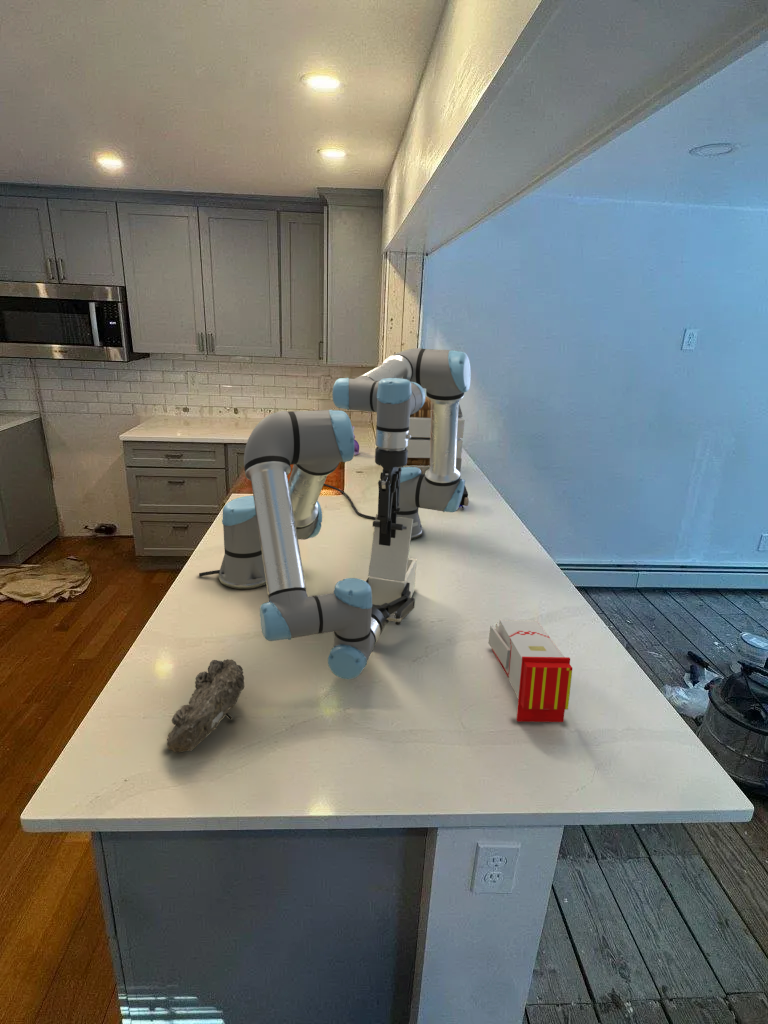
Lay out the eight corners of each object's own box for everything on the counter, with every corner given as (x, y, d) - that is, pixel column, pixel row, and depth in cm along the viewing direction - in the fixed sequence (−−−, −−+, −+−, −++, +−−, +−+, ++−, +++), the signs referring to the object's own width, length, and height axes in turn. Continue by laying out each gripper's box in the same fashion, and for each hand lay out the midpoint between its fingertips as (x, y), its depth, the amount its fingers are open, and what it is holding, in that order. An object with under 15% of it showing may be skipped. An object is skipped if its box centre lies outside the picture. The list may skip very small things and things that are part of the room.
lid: (377, 514, 146) (369, 512, 138) (413, 519, 143) (407, 517, 135) (369, 575, 145) (360, 577, 137) (405, 581, 143) (399, 583, 135)
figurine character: (468, 514, 225) (463, 498, 239) (470, 497, 222) (465, 482, 235) (451, 514, 225) (447, 498, 238) (453, 497, 222) (449, 481, 235)
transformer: (382, 463, 289) (386, 382, 275) (445, 464, 293) (451, 384, 279) (390, 482, 257) (394, 392, 243) (460, 483, 261) (468, 394, 247)
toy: (535, 605, 135) (581, 664, 106) (530, 657, 138) (574, 728, 108) (484, 604, 135) (517, 662, 105) (480, 656, 137) (511, 727, 108)
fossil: (192, 660, 117) (244, 628, 112) (224, 691, 120) (276, 661, 115) (142, 746, 98) (202, 712, 93) (182, 779, 101) (242, 748, 96)
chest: (382, 585, 162) (383, 554, 159) (414, 590, 160) (416, 559, 157) (367, 611, 148) (368, 577, 145) (402, 617, 146) (404, 583, 143)
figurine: (347, 456, 298) (347, 428, 293) (339, 452, 307) (339, 424, 302) (363, 455, 303) (364, 427, 298) (355, 450, 311) (356, 423, 306)
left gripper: (318, 634, 131) (348, 590, 151) (412, 650, 126) (429, 603, 146) (318, 605, 128) (348, 565, 149) (414, 621, 123) (431, 577, 144)
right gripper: (399, 458, 122) (393, 557, 130) (415, 441, 138) (409, 530, 146) (365, 454, 123) (362, 552, 131) (385, 438, 139) (381, 526, 147)
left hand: (388, 584), depth 147 cm, fingers closed on chest, 9 cm apart
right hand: (387, 540), depth 139 cm, fingers open, 4 cm apart
